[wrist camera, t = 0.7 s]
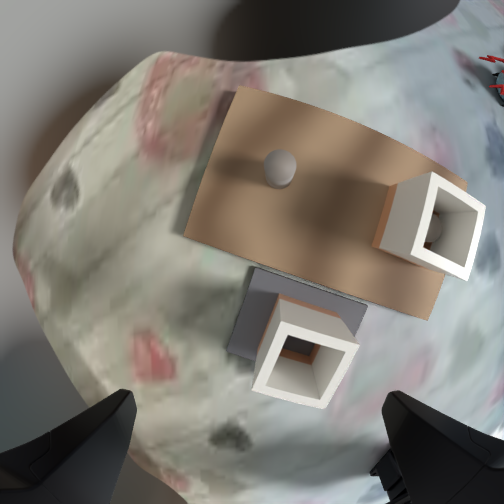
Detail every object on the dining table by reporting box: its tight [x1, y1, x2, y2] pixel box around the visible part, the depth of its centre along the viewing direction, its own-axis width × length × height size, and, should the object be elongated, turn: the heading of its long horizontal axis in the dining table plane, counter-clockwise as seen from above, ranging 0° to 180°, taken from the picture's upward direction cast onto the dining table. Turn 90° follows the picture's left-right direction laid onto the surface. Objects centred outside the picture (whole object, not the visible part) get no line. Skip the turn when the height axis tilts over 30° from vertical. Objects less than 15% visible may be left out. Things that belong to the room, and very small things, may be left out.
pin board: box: [183, 85, 467, 321], centre depth 17 cm, size 20×12×5 cm, turn 71°
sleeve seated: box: [372, 171, 486, 281], centre depth 15 cm, size 5×5×6 cm
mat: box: [226, 267, 368, 361], centre depth 20 cm, size 9×7×1 cm
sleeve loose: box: [252, 293, 359, 409], centre depth 17 cm, size 5×5×6 cm
